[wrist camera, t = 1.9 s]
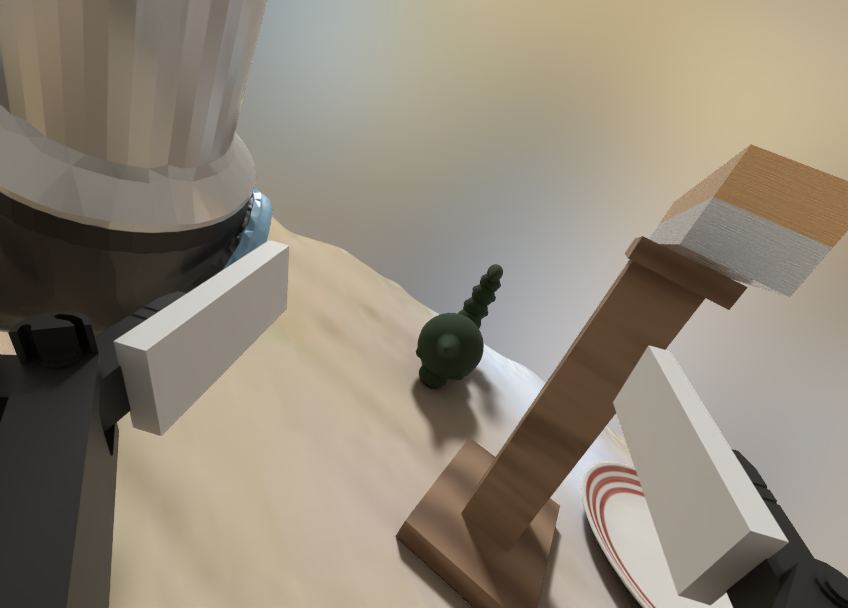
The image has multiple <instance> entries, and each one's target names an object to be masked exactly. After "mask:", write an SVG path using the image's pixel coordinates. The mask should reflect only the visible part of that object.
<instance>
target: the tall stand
mask: <svg viewBox="0 0 848 608" xmlns="http://www.w3.org/2000/svg"><path fill="white" fill-rule="evenodd" d="M625 254H626V256H627V258H629V259H630V260H629V261H628V263H627V264H626V266H625V267H624V269H623V270H622V272H621V273H620V275H619V276H618V278H617V279H616V281H615V282H614V283H613V285H612V286H611V288H610V289H609V291H608V292H607V294H606V295H605V297H604V298H603V300H602V301H601V303H600V304H599V306H598V307H597V309H596V310H595V312H594V313H593V315H592V316H591V317H590V319H589V320H588V322H587V323H586V325H585V326H584V328H583V329H582V331H581V332H580V334H579V335H578V337H577V338H576V340H575V341H574V342H573V344H572V345H571V347H570V348H569V350H568V351H567V353H566V354H565V356H564V357H563V359H562V360H561V362H560V363H559V365H558V366H557V368H556V369H555V371H554V372H553V374H552V375H551V377H550V378H549V379H548V381H547V382H546V384H545V385H544V387H543V388H542V390H541V391H540V393H539V394H538V396H537V397H536V399H535V400H534V402H533V403H532V404H531V406H530V407H529V409H528V410H527V412H526V413H525V415H524V416H523V418H522V419H521V421H520V422H519V424H518V425H517V427H516V428H515V430H514V431H513V433H512V434H511V435H510V437H509V438H508V440H507V441H506V443H505V444H504V446H503V447H502V449H501V450H500V452H499V453H498V455H497V456H496V457H495V456H493V455H492V454H491V453H489V452H488V451H487V450H485V449H484V448H483V447H481V446H480V445H479V444H477V443H476V442H475V441H473V440H472V439H471V438H469V439H468V440H467V441H466V443H465V444H464V445H463V446H462V448H461V449H460V450H459V452H458V453H457V454H456V456H455V457H454V458H453V459H452V461H451V462H450V463H449V465H448V466H447V467H446V468H445V470H444V471H443V472H442V474H441V475H440V476H439V478H438V479H437V480H436V481H435V483H434V484H433V485H432V487H431V488H430V489H429V491H428V492H427V493H426V494H425V496H424V497H423V498H422V500H421V501H420V502H419V504H418V505H417V506H416V507H415V509H414V510H413V511H412V513H411V514H410V515H409V516H408V518H407V519H406V520H405V522H404V524H403V525H402V527H401V528H400V530H399V532H398V533H397V535H396V537H397V538H399V539H400V540H401V541H402V542H403V543H404V544H405V545H406V546H407V547H408V548H410V549H411V550H412V551H413V552H414V553H415V554H416V555H417V556H418V557H419V558H421V559H422V560H423V561H424V562H425V563H426V564H427V565H428V566H429V567H430V568H432V569H433V570H434V571H435V572H436V573H437V574H438V575H439V576H440V577H441V578H443V579H444V580H445V581H446V582H447V583H448V584H449V585H450V586H451V587H452V588H454V589H455V590H456V591H457V592H458V593H459V594H460V595H461V596H462V597H463V598H465V599H466V600H467V601H468V602H469V603H470V604H471V605H472V606H473V607H474V608H537V606H538V601H539V597H540V592H541V588H542V583H543V579H544V575H545V570H546V566H547V561H548V557H549V552H550V548H551V543H552V539H553V535H554V530H555V526H556V521H557V517H558V512H559V508H560V505H558V504H557V503H556V502H554V501H553V500H552V499H550V497H551V496H552V495H553V493H554V492H555V491H556V489H557V488H558V487H559V486H560V484H561V483H562V482H563V480H564V479H565V478H566V477H567V475H568V474H569V473H570V471H571V470H572V469H573V468H574V466H575V465H576V464H577V462H578V461H579V460H580V459H581V457H582V456H583V455H584V453H585V452H586V451H587V450H588V448H589V447H590V446H591V444H592V443H593V442H594V441H595V439H596V438H597V437H598V435H599V434H600V433H601V432H602V430H603V429H604V428H605V426H606V425H607V424H608V423H609V421H610V420H611V419H612V418H613V416H614V415H615V414H616V410H615V407H614V404H613V402H614V400H615V398H616V397H617V395H618V394H619V392H620V390H621V389H622V387H623V386H624V384H625V382H626V381H627V379H628V378H629V376H630V374H631V373H632V371H633V370H634V368H635V366H636V365H637V363H638V362H639V360H640V358H641V357H642V355H643V354H644V352H645V350H646V349H647V347H648V346H653V347H656V348H660V349H664V350H665V349H666V348H667V347H668V346H669V344H670V343H671V342H672V340H673V339H674V338H675V337H676V335H677V334H678V333H679V331H680V330H681V329H682V328H683V326H684V325H685V324H686V322H687V321H688V320H689V319H690V317H691V316H692V315H693V313H694V312H695V311H696V310H697V308H698V307H699V306H700V304H701V303H702V302H703V300H704V299H705V298H707V299H709V300H711V301H713V302H714V303H717V304H718V305H720V306H722V307H724V308H726V309H728V310H730V308H731V307H732V306H733V305H734V303H735V302H736V301H737V300H738V298H739V297H740V296H741V295H742V294H743V292H744V291H745V290H746V289H747V287H746V286H744V285H742V284H740V283H738V282H736V281H734V280H732V279H730V278H728V277H725V276H723V275H721V274H719V273H717V272H715V271H713V270H711V269H709V268H707V267H705V266H703V265H701V264H699V263H697V262H695V261H693V260H691V259H689V258H686V257H684V256H682V255H680V254H678V253H676V252H674V251H672V250H670V249H668V248H666V247H664V246H662V245H660V244H658V243H656V242H654V241H652V240H649V239H647V238H645V237H643V236H642V237H639V238H636V239H634V241H633V242H632V244H631V245H630V246H629V248H628V249H627V251H626V252H625Z"/></svg>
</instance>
